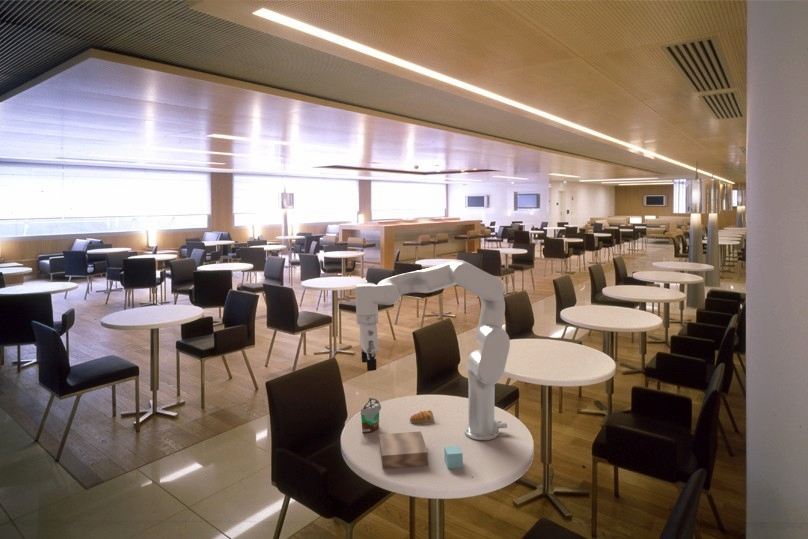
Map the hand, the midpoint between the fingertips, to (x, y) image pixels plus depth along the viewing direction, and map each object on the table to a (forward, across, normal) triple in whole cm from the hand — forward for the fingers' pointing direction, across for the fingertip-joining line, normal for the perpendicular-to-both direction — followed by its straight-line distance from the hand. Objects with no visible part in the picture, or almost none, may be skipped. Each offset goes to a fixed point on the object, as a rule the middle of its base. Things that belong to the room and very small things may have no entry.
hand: (369, 366), depth 169 cm
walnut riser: (+29, -11, -8) cm, 32 cm away
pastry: (+30, +13, -24) cm, 40 cm away
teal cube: (+29, -22, -23) cm, 43 cm away
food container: (+29, +12, -3) cm, 32 cm away
